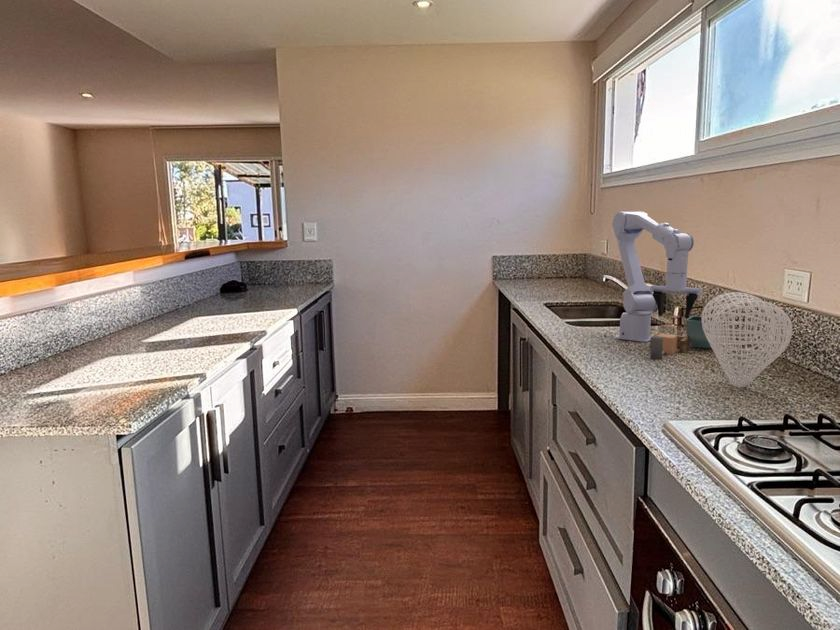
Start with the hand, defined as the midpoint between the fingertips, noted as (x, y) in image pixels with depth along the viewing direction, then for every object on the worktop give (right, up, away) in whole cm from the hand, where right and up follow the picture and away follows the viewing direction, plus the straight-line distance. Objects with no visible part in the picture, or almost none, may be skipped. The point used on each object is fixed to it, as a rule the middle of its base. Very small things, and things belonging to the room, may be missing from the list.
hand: (673, 316), depth 176 cm
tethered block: (-6, -11, -5) cm, 14 cm away
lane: (0, -10, +3) cm, 11 cm away
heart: (-2, -17, -39) cm, 42 cm away
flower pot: (+11, -10, +6) cm, 16 cm away
